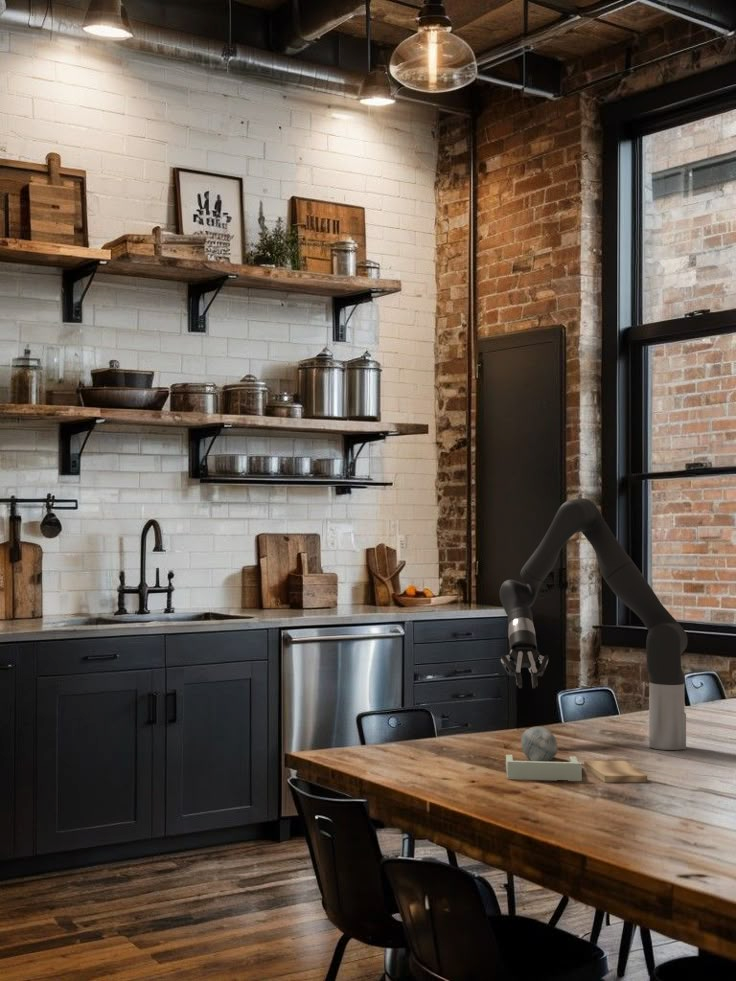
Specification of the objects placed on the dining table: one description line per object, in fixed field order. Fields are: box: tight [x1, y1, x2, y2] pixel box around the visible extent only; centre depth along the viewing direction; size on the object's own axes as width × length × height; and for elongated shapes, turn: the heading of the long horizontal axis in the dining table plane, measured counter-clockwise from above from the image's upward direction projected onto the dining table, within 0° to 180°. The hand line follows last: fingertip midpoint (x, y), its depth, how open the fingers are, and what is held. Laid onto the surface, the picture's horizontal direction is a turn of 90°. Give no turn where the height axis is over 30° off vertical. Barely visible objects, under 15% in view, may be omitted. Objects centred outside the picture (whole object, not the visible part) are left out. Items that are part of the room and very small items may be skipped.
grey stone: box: [520, 726, 558, 762], centre depth 304 cm, size 14×10×10 cm
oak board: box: [583, 760, 648, 783], centre depth 286 cm, size 10×18×2 cm, turn 5°
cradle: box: [505, 754, 583, 782], centre depth 288 cm, size 17×18×4 cm
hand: (527, 686), depth 329 cm, fingers open, 3 cm apart
